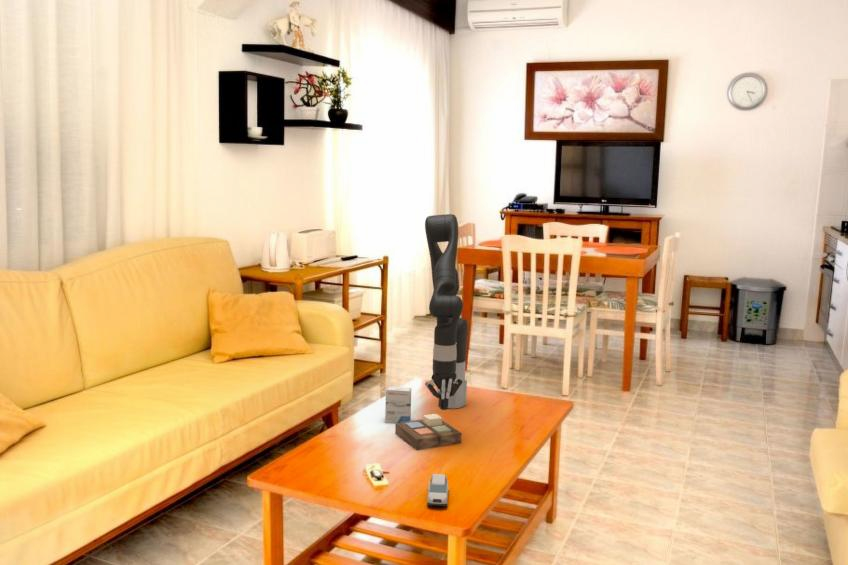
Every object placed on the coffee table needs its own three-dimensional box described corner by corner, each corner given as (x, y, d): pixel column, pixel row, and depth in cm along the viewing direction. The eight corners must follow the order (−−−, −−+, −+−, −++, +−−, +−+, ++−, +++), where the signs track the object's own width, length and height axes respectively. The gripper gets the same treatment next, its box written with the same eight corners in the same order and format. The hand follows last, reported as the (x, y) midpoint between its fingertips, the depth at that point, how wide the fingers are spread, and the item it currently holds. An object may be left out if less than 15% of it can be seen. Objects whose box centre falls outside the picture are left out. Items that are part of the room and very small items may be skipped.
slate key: (418, 428, 250) (418, 421, 250) (424, 433, 246) (424, 425, 246) (405, 430, 248) (405, 423, 248) (411, 435, 244) (411, 427, 244)
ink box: (411, 419, 264) (411, 387, 262) (409, 424, 259) (410, 391, 257) (386, 418, 265) (387, 385, 263) (384, 422, 260) (385, 389, 258)
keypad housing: (438, 427, 256) (438, 417, 256) (461, 443, 242) (461, 432, 242) (395, 433, 249) (395, 423, 249) (416, 450, 235) (416, 439, 235)
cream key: (435, 420, 253) (435, 413, 252) (441, 425, 249) (441, 417, 248) (423, 422, 251) (423, 415, 250) (429, 426, 246) (429, 419, 246)
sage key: (444, 432, 247) (444, 425, 247) (450, 437, 243) (451, 429, 243) (431, 434, 245) (431, 427, 245) (438, 439, 241) (438, 431, 241)
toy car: (425, 509, 195) (426, 491, 194) (428, 489, 208) (428, 471, 207) (448, 511, 195) (448, 492, 194) (449, 490, 207) (449, 472, 207)
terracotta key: (426, 435, 244) (426, 427, 244) (433, 439, 240) (433, 432, 240) (413, 436, 242) (414, 429, 242) (420, 441, 238) (420, 434, 238)
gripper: (457, 352, 246) (455, 403, 249) (420, 356, 240) (419, 408, 243) (468, 357, 240) (466, 410, 243) (431, 362, 234) (430, 415, 237)
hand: (443, 409), depth 243 cm, fingers closed
